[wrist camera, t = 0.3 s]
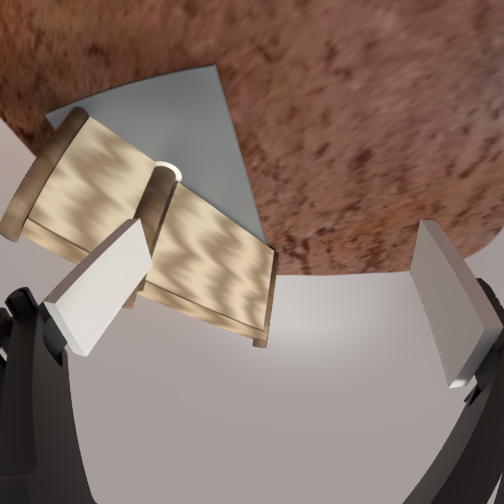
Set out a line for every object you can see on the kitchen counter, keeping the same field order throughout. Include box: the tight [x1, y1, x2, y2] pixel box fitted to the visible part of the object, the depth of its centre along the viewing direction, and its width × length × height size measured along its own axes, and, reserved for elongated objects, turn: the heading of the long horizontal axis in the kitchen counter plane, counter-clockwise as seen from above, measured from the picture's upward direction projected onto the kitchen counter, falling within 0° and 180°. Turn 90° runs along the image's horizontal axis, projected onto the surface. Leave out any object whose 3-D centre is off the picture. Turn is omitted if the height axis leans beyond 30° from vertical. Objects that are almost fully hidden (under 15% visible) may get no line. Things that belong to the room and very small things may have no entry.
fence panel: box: [137, 182, 279, 348], centre depth 38 cm, size 21×2×15 cm, turn 40°
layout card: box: [45, 64, 267, 245], centre depth 38 cm, size 35×22×1 cm, turn 10°
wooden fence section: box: [0, 107, 176, 309], centre depth 26 cm, size 16×3×16 cm, turn 40°
